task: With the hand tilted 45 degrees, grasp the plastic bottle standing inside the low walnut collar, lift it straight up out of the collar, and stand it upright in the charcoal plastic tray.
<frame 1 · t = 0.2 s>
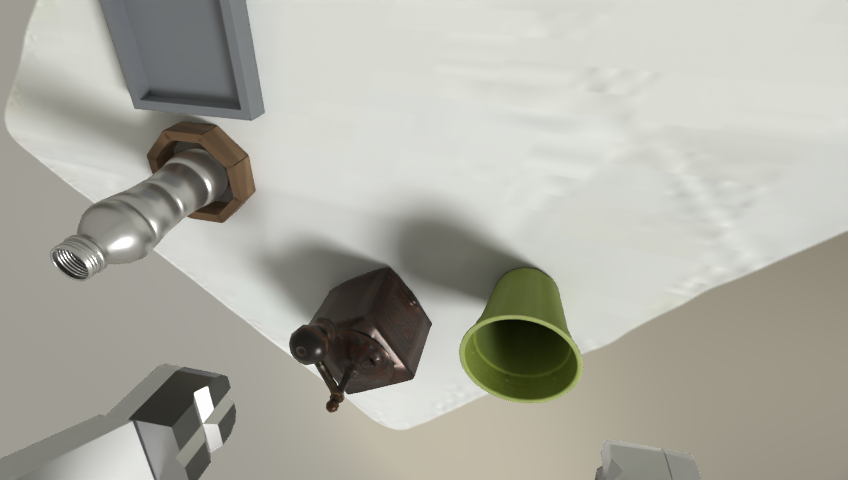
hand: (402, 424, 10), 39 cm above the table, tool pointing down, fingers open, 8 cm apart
plant pot: (525, 290, 56), on the table
plastic bottle: (211, 167, 57), resting in walnut collar
walnut collar: (210, 168, 57), on the table
charcoal tray: (190, 38, 48), on the table
manual coffee grinder: (372, 290, 62), on the table
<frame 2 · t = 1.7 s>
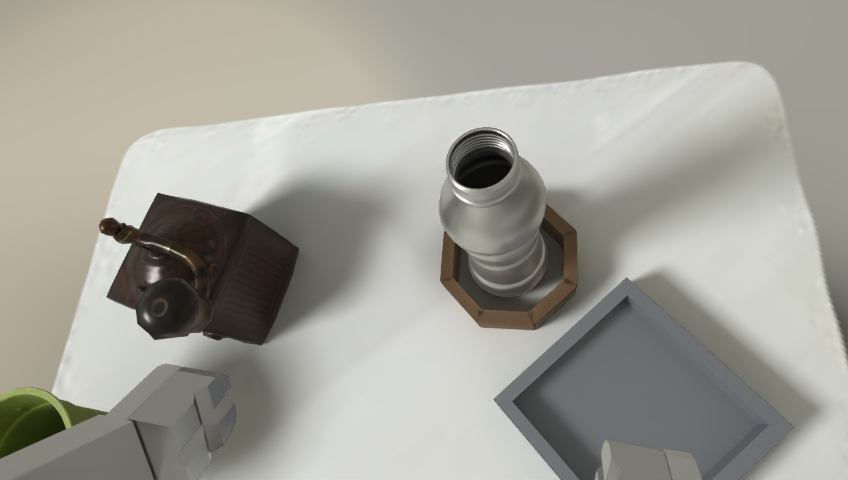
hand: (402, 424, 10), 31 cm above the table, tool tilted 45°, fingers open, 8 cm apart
plant pot: (129, 457, 45), on the table
plastic bottle: (509, 267, 42), resting in walnut collar
walnut collar: (509, 266, 42), on the table
charcoal tray: (627, 411, 36), on the table
manual coffee grinder: (261, 292, 48), on the table
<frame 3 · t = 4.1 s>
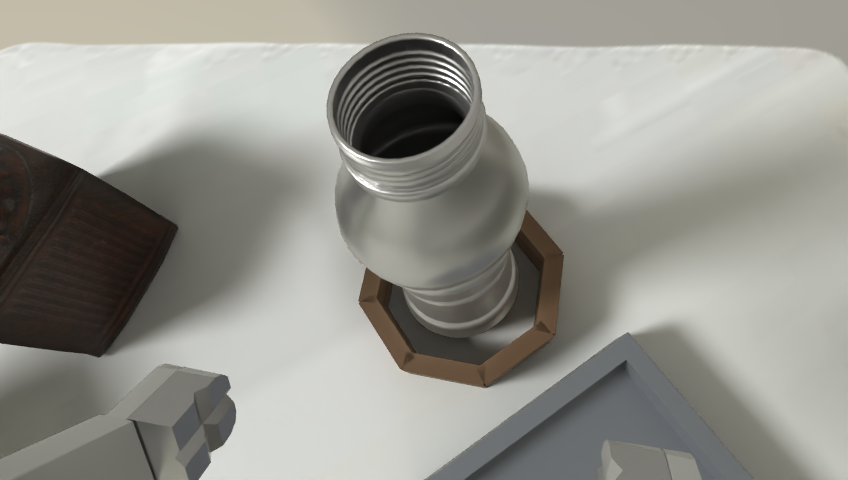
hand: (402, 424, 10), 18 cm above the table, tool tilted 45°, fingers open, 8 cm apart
plastic bottle: (463, 291, 30), resting in walnut collar
walnut collar: (463, 290, 30), on the table
manual coffee grinder: (116, 281, 34), on the table
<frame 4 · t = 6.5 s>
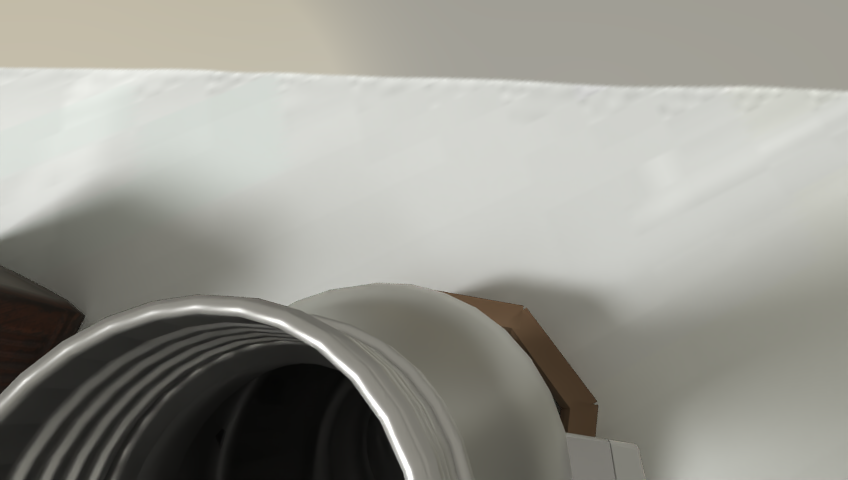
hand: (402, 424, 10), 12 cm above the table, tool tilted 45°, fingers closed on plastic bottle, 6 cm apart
plastic bottle: (453, 428, 22), resting in walnut collar, touching gripper
walnut collar: (453, 428, 22), on the table
manual coffee grinder: (2, 386, 26), on the table
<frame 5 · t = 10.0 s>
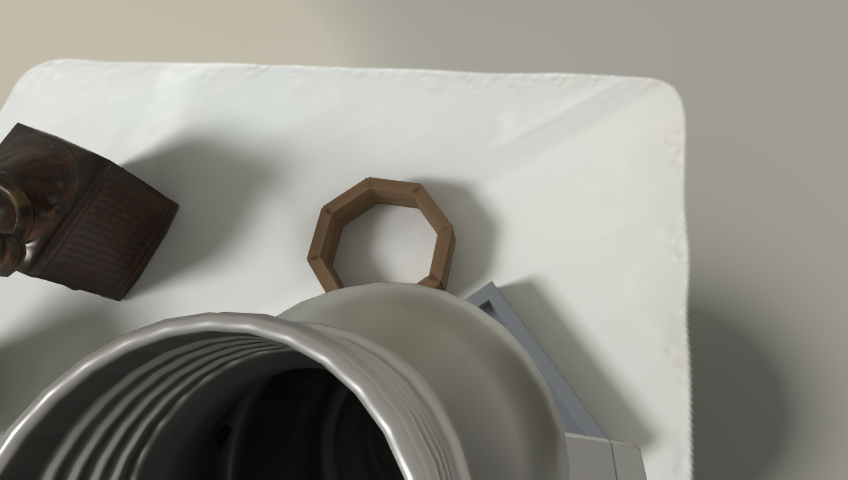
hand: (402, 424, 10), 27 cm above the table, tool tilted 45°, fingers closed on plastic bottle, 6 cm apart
plastic bottle: (456, 417, 22), point 14 cm above the table, touching gripper
walnut collar: (386, 254, 40), on the table
charcoal tray: (470, 417, 35), on the table
manual coffee grinder: (131, 246, 45), on the table
when the fingers open (15 cm above the table, at t = 13.5 s): plastic bottle moves 2 cm, resting on charcoal tray.
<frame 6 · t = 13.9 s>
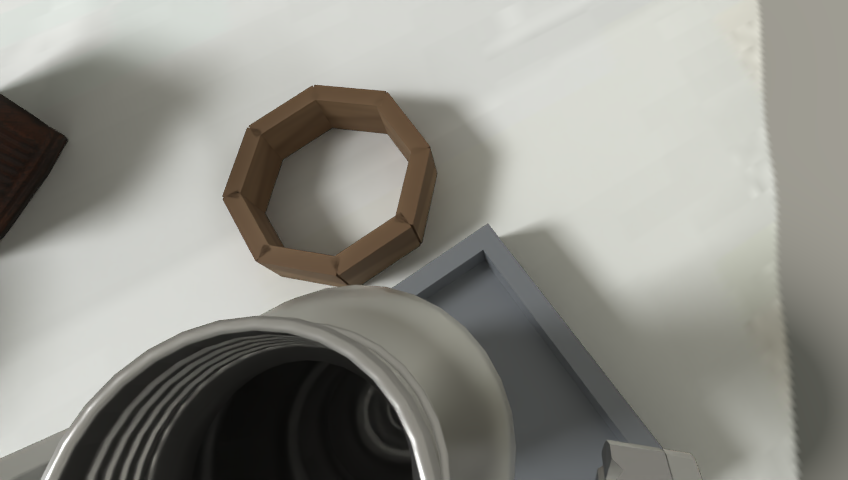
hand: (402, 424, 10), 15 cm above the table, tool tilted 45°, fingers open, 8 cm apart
plastic bottle: (407, 408, 23), point 1 cm above the table, touching charcoal tray, gripper
walnut collar: (341, 195, 29), on the table
charcoal tray: (455, 426, 24), on the table
manual coffee grinder: (3, 192, 33), on the table
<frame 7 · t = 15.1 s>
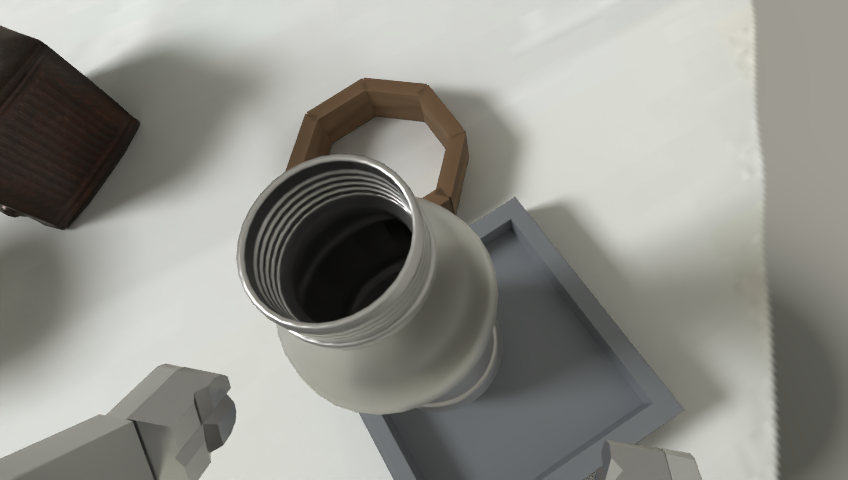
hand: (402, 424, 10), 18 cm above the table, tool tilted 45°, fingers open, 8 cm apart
plastic bottle: (445, 352, 28), point 1 cm above the table, touching charcoal tray
walnut collar: (384, 174, 33), on the table
charcoal tray: (485, 368, 28), on the table
manual coffee grinder: (83, 169, 38), on the table
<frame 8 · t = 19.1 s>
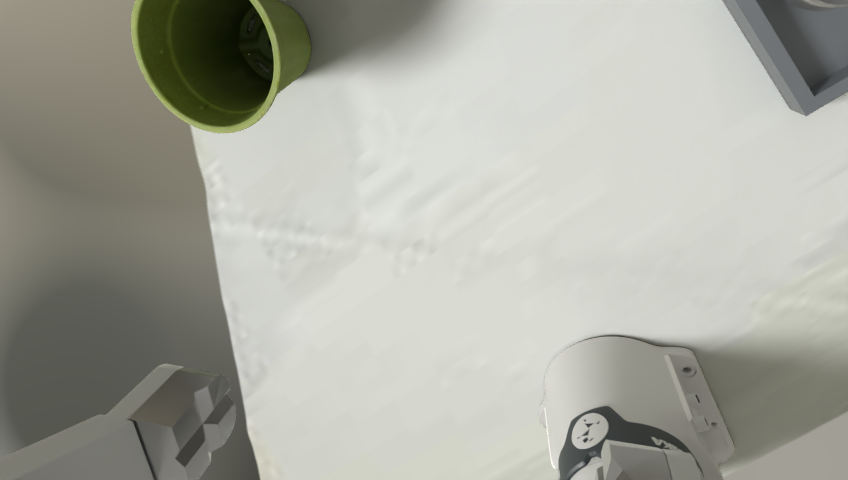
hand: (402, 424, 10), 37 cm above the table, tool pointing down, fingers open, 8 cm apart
plant pot: (278, 41, 45), on the table
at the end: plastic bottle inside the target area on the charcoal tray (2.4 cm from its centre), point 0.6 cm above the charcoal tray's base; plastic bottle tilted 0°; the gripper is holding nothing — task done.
